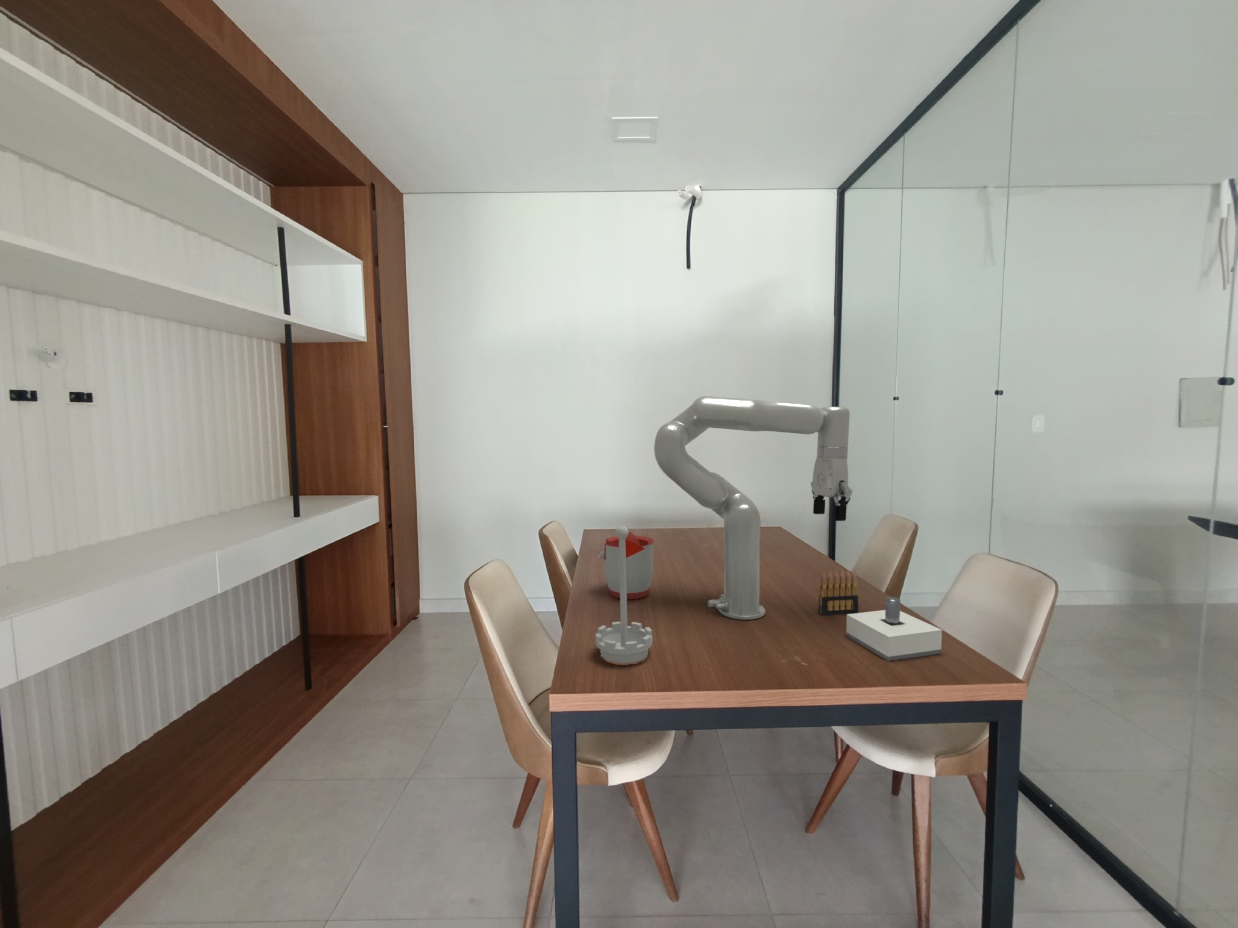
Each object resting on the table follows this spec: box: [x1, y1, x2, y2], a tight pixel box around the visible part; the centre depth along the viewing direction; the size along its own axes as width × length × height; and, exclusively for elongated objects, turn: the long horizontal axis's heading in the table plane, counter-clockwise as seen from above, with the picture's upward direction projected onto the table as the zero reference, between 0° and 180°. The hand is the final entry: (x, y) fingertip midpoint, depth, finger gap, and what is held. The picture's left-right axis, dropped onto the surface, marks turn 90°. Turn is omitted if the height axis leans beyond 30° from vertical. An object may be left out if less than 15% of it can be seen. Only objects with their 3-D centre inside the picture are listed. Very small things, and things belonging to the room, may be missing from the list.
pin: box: [884, 596, 901, 626], centre depth 122 cm, size 3×3×10 cm
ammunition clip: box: [818, 569, 860, 616], centre depth 143 cm, size 11×2×12 cm, turn 96°
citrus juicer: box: [597, 530, 655, 600], centre depth 162 cm, size 16×17×20 cm
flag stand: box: [595, 525, 653, 663], centre depth 119 cm, size 13×13×30 cm
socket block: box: [846, 609, 943, 662], centre depth 123 cm, size 14×14×6 cm
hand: (828, 517), depth 140 cm, fingers open, 9 cm apart
